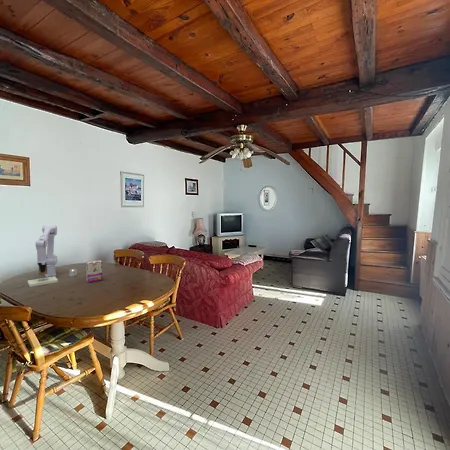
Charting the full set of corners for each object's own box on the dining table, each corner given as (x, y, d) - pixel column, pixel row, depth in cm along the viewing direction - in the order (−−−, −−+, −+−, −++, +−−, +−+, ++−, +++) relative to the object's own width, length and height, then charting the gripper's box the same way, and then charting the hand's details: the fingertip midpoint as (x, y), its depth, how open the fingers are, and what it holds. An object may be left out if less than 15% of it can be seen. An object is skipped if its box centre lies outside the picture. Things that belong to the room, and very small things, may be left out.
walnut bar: (39, 274, 193) (38, 267, 192) (46, 273, 196) (46, 266, 196) (39, 275, 191) (39, 267, 190) (47, 274, 194) (47, 266, 194)
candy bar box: (101, 278, 207) (100, 260, 206) (102, 280, 203) (102, 261, 202) (86, 281, 200) (85, 261, 199) (87, 282, 196) (87, 263, 195)
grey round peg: (68, 276, 212) (68, 269, 212) (75, 274, 216) (75, 268, 216) (70, 277, 208) (70, 270, 208) (77, 276, 212) (77, 269, 212)
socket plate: (27, 283, 192) (27, 280, 192) (54, 278, 204) (54, 276, 204) (29, 286, 183) (29, 284, 183) (57, 282, 196) (57, 279, 196)
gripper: (49, 256, 190) (50, 272, 191) (46, 253, 200) (46, 269, 201) (38, 257, 185) (39, 274, 186) (35, 254, 195) (36, 270, 196)
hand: (42, 271), depth 193 cm, fingers closed on walnut bar, 3 cm apart
